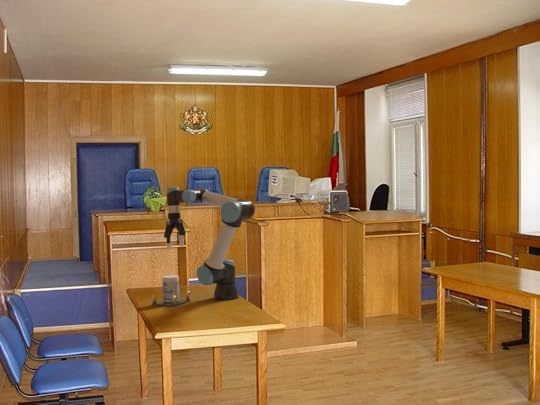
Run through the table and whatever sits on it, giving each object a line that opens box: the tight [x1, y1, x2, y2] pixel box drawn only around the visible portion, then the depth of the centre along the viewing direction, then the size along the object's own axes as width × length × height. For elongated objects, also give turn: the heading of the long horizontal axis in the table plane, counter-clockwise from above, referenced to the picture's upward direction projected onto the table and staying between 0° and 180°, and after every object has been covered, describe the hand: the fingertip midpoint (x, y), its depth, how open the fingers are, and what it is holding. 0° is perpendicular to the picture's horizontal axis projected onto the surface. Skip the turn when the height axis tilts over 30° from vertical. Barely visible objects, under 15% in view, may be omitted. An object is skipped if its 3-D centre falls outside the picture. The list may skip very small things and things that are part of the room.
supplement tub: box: [161, 274, 180, 303], centre depth 357 cm, size 10×10×15 cm
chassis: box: [151, 290, 191, 308], centre depth 358 cm, size 16×16×6 cm
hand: (175, 247), depth 372 cm, fingers open, 13 cm apart
